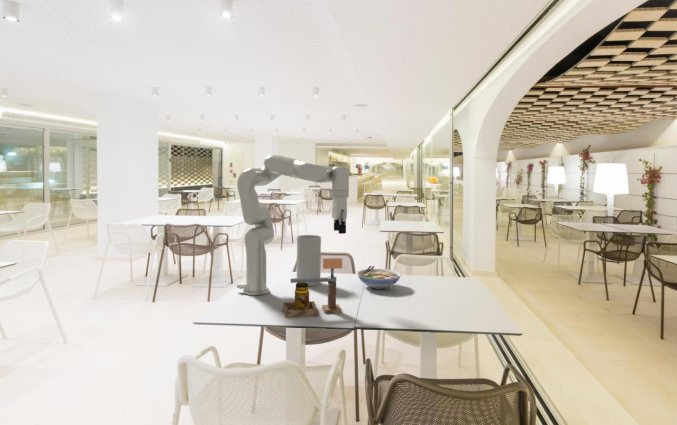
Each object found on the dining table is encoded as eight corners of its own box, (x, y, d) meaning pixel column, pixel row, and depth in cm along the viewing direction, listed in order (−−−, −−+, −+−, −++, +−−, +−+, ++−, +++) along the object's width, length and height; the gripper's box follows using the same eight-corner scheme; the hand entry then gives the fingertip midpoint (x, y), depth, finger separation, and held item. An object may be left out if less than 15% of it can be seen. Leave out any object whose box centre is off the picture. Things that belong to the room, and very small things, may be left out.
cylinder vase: (324, 282, 230) (325, 236, 228) (311, 288, 220) (311, 239, 217) (306, 279, 237) (306, 234, 235) (291, 284, 226) (292, 237, 224)
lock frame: (284, 317, 174) (285, 287, 173) (283, 308, 186) (283, 280, 185) (342, 314, 179) (343, 285, 178) (337, 305, 191) (337, 278, 190)
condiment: (306, 315, 177) (306, 286, 176) (287, 312, 179) (287, 284, 178) (312, 309, 184) (312, 282, 183) (294, 307, 186) (294, 280, 185)
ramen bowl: (395, 296, 208) (396, 279, 207) (350, 291, 215) (350, 275, 214) (404, 283, 231) (405, 268, 230) (363, 279, 238) (364, 265, 238)
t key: (291, 283, 178) (291, 260, 177) (290, 281, 181) (290, 258, 181) (342, 282, 182) (342, 259, 181) (340, 280, 185) (341, 257, 185)
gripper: (328, 193, 201) (327, 229, 203) (336, 195, 184) (335, 234, 186) (343, 193, 203) (343, 229, 204) (353, 195, 186) (352, 234, 187)
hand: (339, 231), depth 195 cm, fingers open, 9 cm apart
